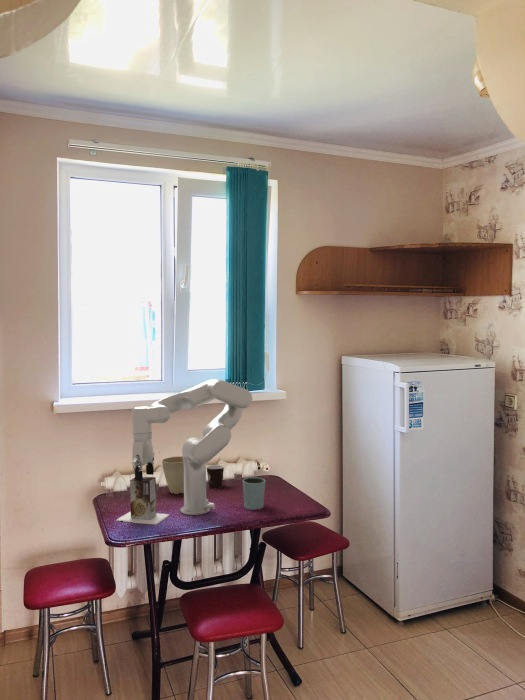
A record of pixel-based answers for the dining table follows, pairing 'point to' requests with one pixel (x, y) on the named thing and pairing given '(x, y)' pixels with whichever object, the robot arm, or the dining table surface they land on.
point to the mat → (154, 520)
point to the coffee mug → (215, 475)
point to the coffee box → (143, 498)
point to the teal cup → (253, 493)
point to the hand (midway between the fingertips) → (144, 477)
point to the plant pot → (174, 473)
